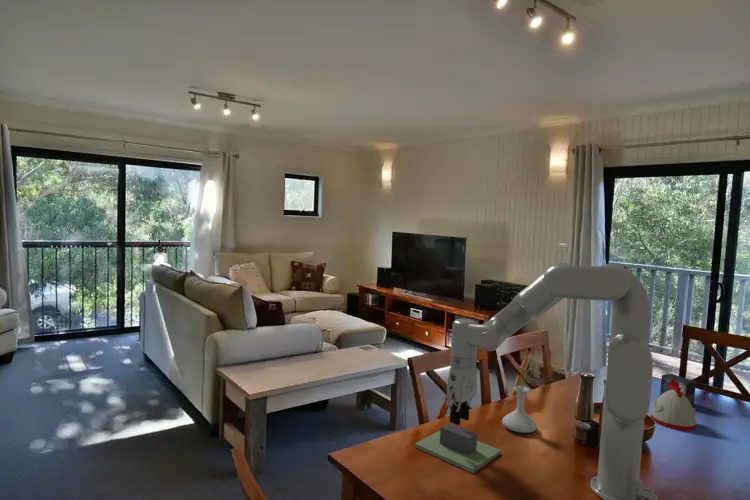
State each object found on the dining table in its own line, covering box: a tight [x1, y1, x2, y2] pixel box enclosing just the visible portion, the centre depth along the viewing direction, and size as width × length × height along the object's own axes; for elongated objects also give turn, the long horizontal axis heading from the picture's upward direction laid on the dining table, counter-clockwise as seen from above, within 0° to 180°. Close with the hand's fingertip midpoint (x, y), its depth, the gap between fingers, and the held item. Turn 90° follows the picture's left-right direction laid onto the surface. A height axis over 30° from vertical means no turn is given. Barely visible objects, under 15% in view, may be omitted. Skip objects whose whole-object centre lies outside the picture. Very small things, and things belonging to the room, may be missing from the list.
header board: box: [414, 430, 502, 474], centre depth 142 cm, size 20×16×5 cm
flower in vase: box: [501, 354, 542, 434], centre depth 159 cm, size 13×11×25 cm
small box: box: [659, 373, 697, 408], centre depth 191 cm, size 11×6×10 cm, turn 25°
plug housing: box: [439, 422, 478, 455], centre depth 142 cm, size 10×4×5 cm, turn 48°
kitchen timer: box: [650, 380, 697, 432], centre depth 171 cm, size 14×14×15 cm
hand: (459, 420), depth 141 cm, fingers open, 4 cm apart
